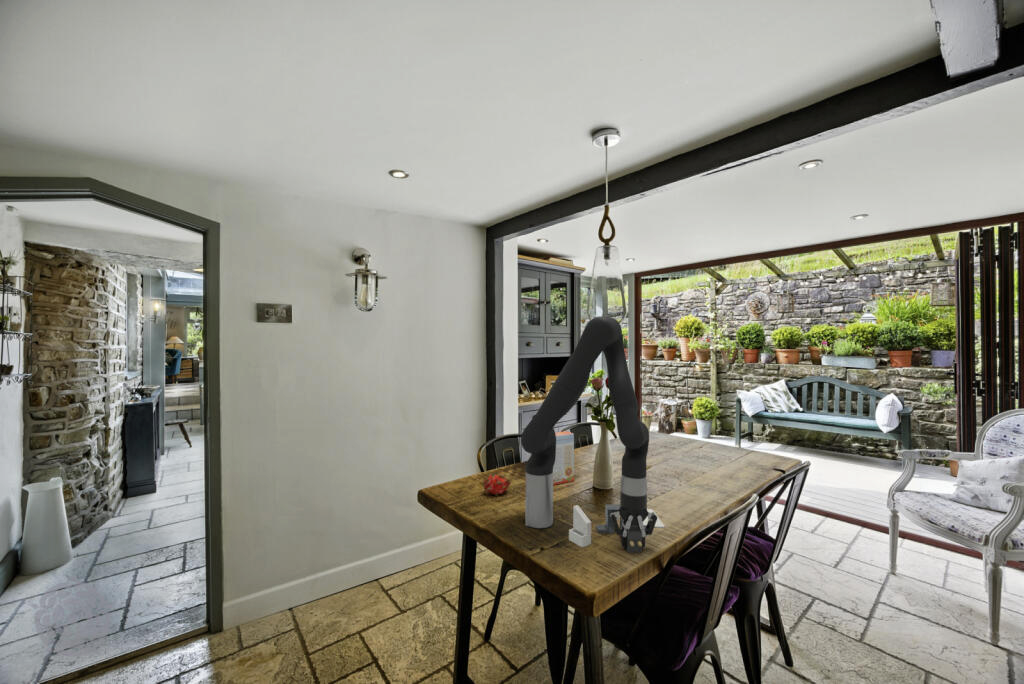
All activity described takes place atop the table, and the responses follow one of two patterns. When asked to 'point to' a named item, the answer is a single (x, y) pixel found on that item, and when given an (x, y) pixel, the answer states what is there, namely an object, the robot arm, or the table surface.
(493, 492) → the dragon fruit
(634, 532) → the plug
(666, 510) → the table surface
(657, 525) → the pad
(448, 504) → the table surface
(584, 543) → the white wedge bracket
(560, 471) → the cracker box
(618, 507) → the grey arch bracket
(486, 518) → the table surface
